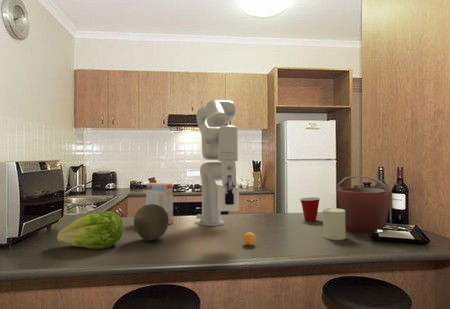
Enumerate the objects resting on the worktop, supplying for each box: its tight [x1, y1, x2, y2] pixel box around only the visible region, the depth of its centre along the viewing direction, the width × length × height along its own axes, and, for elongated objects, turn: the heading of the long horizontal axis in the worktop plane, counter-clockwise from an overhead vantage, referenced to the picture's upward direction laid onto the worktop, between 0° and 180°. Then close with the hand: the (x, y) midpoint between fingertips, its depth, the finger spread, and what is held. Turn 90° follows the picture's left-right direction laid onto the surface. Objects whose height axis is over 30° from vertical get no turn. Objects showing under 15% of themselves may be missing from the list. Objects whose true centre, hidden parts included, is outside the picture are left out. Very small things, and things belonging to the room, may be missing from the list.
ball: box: [242, 231, 257, 246], centre depth 119 cm, size 5×5×5 cm
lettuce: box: [56, 210, 124, 250], centre depth 119 cm, size 14×24×15 cm
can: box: [322, 207, 347, 241], centre depth 130 cm, size 9×9×12 cm
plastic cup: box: [299, 197, 321, 222], centre depth 164 cm, size 11×11×12 cm
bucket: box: [336, 175, 392, 235], centre depth 143 cm, size 24×22×25 cm
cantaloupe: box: [133, 204, 169, 241], centre depth 127 cm, size 14×14×15 cm
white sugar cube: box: [218, 185, 240, 212], centre depth 119 cm, size 8×8×9 cm
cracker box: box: [145, 182, 174, 226], centre depth 159 cm, size 14×6×21 cm, turn 58°
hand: (228, 202), depth 119 cm, fingers closed on white sugar cube, 7 cm apart
